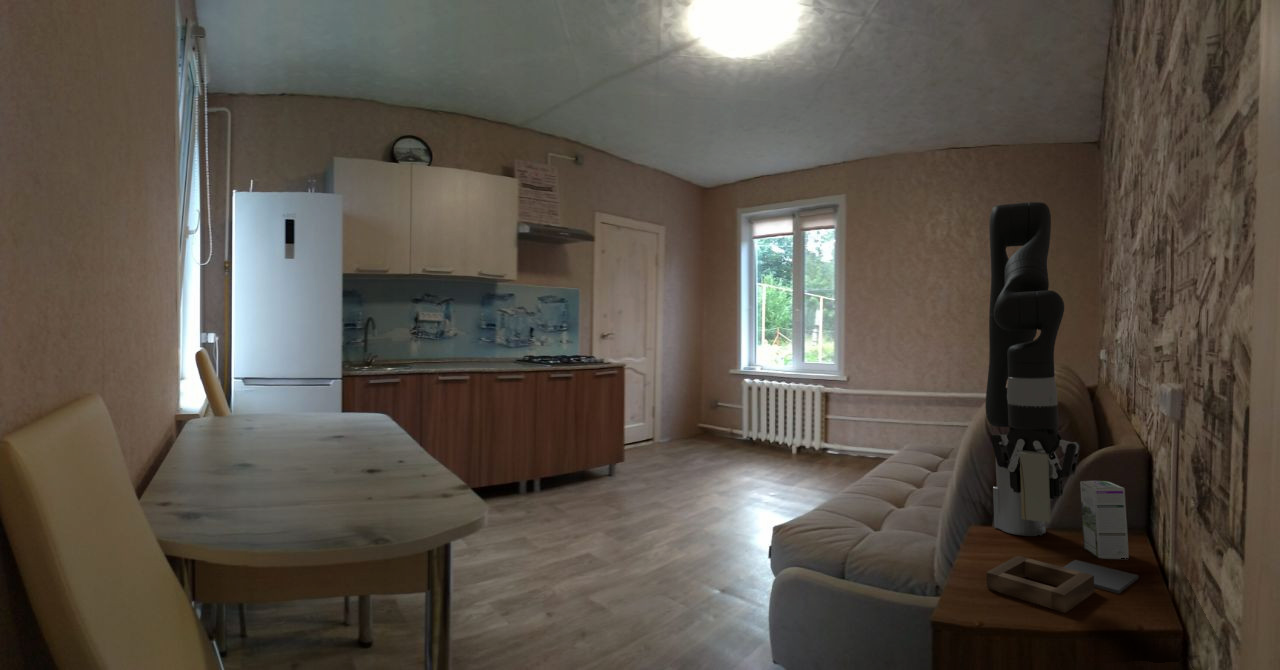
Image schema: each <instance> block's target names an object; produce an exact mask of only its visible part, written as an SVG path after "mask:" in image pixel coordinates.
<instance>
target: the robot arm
mask: <svg viewBox="0 0 1280 670" xmlns="http://www.w3.org/2000/svg"><path fill="white" fill-rule="evenodd" d="M1051 215H1052V214H1051V211H1050V207H1049V206H1048V205H1047V204H1046V203H1045V202H1042V201H1041V202H1040V201H1039V202H1037V201H1035V202H1034V201H1032V202H1031V201H1029V202H1019V203H1006V204H999V205H995V206H993V208H992V210H991V212H990V216H989V250H990V251H989V252H990V253H989V254H990V276H991V277H990V293H989V294H990V297H989V311H988V312H989V315H988V316H989V317H988V321H989V322H988V332H989V334H988V337H989V345H988V346H989V356H988V358H989V361H988V372H987V383H986V391H985V392H986V393H985V415H986V419H987V421H988V423H989V425H991V426H993V427H997V428H1008V431H1007V433H1003V434H1002V433H995V434H992V435H991V437H990V439H991V440H990V441H991V444H992V448H993V451H994V456H995V458H994V459H995V474H996V476H995V477H996V486H993V488H992V497H993V498H992V499H993V521H994V522H993V523H994V528H995V529H998V530H1001V531H1002V532H1005V533H1008V534H1011V535H1015V536H1016V535H1017V536H1024V537H1038V536H1037V535H1040V536H1043V535H1042V534H1044V533H1045V534H1046V522H1040V521H1032V520H1025V519H1022V512H1021V475H1020V451H1023V450H1025V451H1034V452H1038V453H1043V454H1049V474H1050V478H1049V486H1050V500H1056V501H1057V500H1058V499H1059V498H1060V497H1061V496H1063V494H1064V482H1063V481H1064V480H1063V478H1067V477H1070V476H1073V475H1075V474H1076V471H1077V464H1078V461H1079V456H1080V451H1081V443H1080V442H1079V441H1073V442H1072V441H1068V440H1065V439H1062V437H1061V434H1060V433H1059V410H1058V389H1057V385H1056V384H1057V383H1056V378H1055V376H1056V375H1055V345H1056V341H1057V336H1058V332H1059V329H1060V326H1061V324H1062V320H1063V317H1064V312H1065V302H1064V300H1063V298H1062V296H1061V295H1060V294H1059V293H1058V292H1056V291H1055V290H1050V289H1049V287H1050V282H1049V274H1048V272H1049V271H1048V256H1049V250H1050V244H1051V232H1052V231H1051V228H1052V219H1051V218H1052V217H1051ZM1008 247H1020V248H1019V249H1017V250H1016V251H1015V252H1014V253H1012V255H1011V256H1010V257H1008V254H1007V248H1008ZM1038 330H1039V331H1040V333H1039V335H1038V337H1037V338H1036V336H1037V332H1038ZM1059 447H1061V450H1062V451H1061V452H1062V453H1063V454H1064V456H1063V462H1062V463H1063V464H1062V466H1061V465H1060V460H1059V458H1058V455H1057V454H1056V450H1057V449H1058V448H1059ZM1045 534H1044V535H1045Z"/></svg>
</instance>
